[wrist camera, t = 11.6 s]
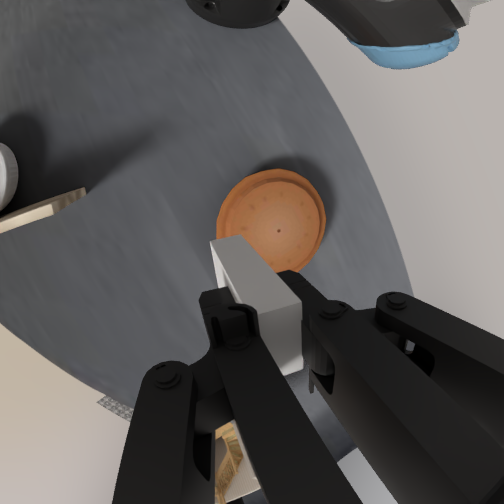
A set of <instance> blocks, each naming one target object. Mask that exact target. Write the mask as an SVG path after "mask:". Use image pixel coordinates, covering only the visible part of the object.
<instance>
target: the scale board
mask: <svg viewBox="0 0 504 504" xmlns="http://www.w3.org/2000/svg"><path fill="white" fill-rule="evenodd" d="M84 195H86V191H85V187H83V188H80V189H77V190H74V191H70V192H67V193H64V194H61V195H58V196H55V197H52V198H49V199H46V200H43V201H40V202H38V203H35V204H32V205H29V206H27V207H24V208H22V209H19V210H16V211H14V212H11V213H9V214H4V215H2V216H0V233H2V232H5V231H8V230H10V229H13V228H16V227H18V226H21V225H24V224H27V223H30V222H32V221H35V220H38V219H41V218H44V217H47V216H50V215H53V214H55V213H57V212H58V211H60V210H61V209H63V208H65V207H66V206H68V205H69V204H71V203H73V202H74V201H76V200H78V199H79V198H81V197H83V196H84Z"/></svg>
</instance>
